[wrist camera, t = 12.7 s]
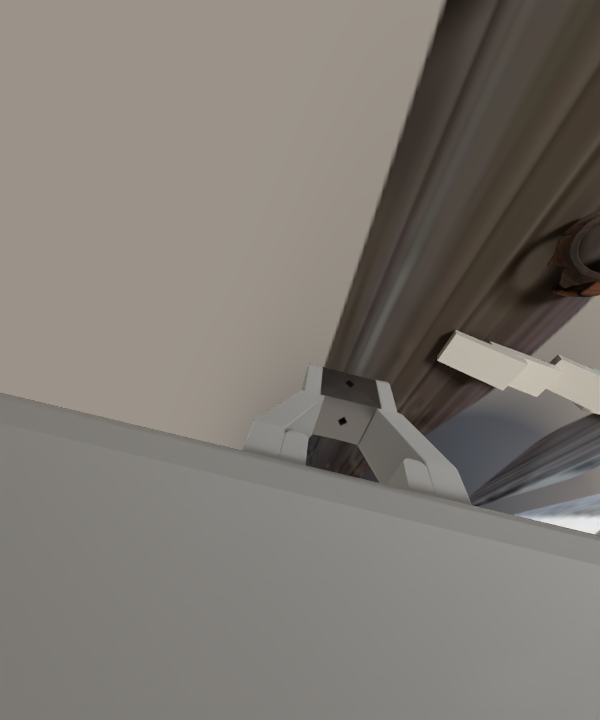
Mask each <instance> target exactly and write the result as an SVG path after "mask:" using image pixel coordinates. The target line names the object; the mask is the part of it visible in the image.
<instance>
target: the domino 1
mask: <svg viewBox="0 0 600 720" xmlns="http://www.w3.org/2000/svg"><path fill="white" fill-rule="evenodd" d="M437 361H439V362H441V363H444V364H446V365H448V366H450V367H452V368H454V369H457V370H459V371H461V372H463V373H465V374H468V375H470V376H472V377H474V378H476V379H478V380H481V381H483V382H485V383H487V384H489V385H491V386H494V387H496V388H498V389H500V390H503V391H504V389H505V388H506V387H507V386H508V385H509V384H510V383H511V382H512V381H513V380H514V379H515V378H516V377H517V376H518V375H519V374H520V373H521V372H522V371H523V370H524V369H525V368H526V367H527V366H528V364H527V362H526V360H525V359H524V358H521V357H519V356H516V355H514V354H512V353H509V352H507V351H505V350H502V349H500V348H498V347H495V346H493V345H490V344H488V343H486V342H483V341H481V340H479V339H476V338H474V337H472V336H469V335H467V334H464V333H462V332H460V331H457V330H455V331H454V333H453V334H452V336H451V337H450V338H449V340H448V341H447V343H446V344H445V346H444V347H443V348H442V350H441V351H440V353H439V354H438V356H437Z"/></svg>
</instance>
